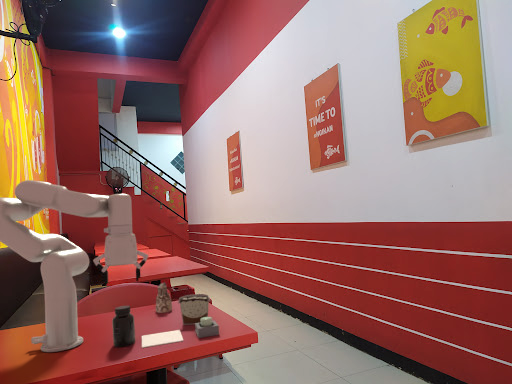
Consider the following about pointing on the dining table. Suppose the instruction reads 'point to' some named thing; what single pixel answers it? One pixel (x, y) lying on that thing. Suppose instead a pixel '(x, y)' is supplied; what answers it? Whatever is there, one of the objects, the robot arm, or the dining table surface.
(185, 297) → the food container
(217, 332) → the button housing
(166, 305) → the figurine
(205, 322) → the button
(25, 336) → the dining table surface
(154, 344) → the paper sheet
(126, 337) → the supplement bottle
